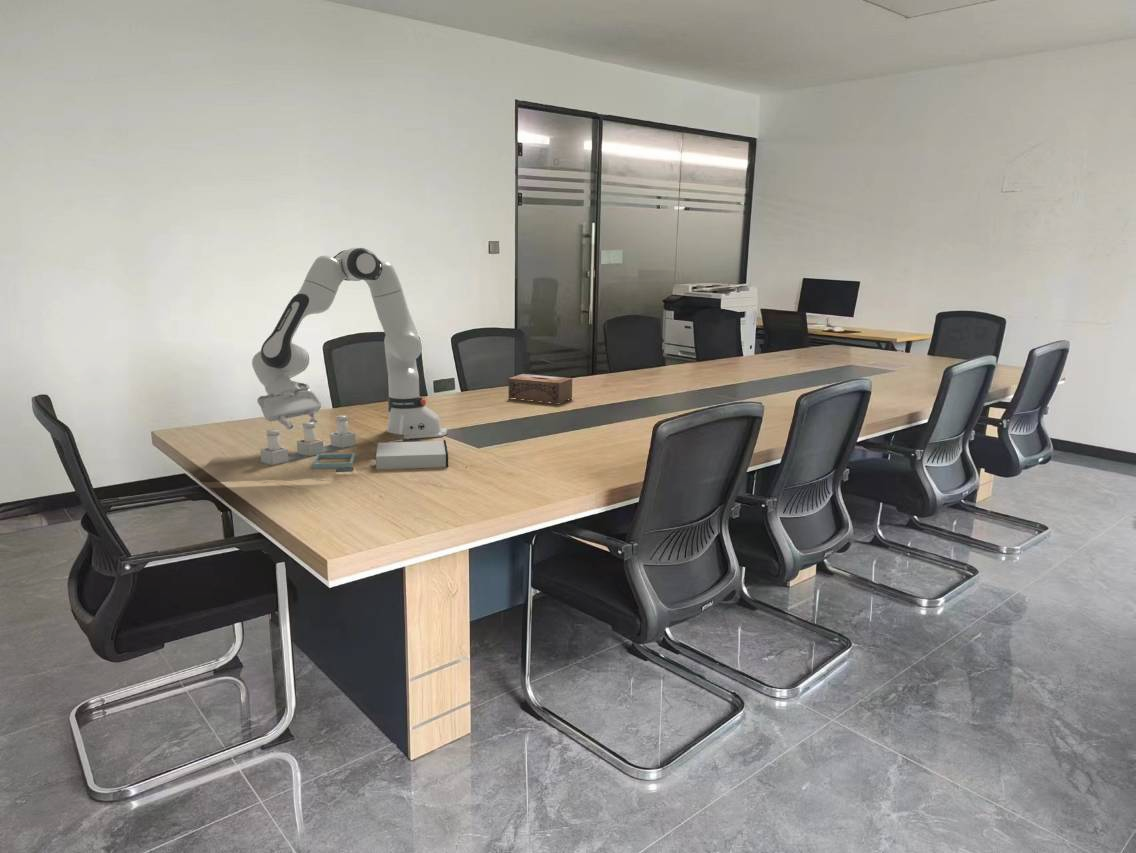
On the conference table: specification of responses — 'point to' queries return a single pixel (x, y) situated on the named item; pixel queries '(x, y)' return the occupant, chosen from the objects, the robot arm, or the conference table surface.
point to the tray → (335, 465)
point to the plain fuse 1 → (273, 440)
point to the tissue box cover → (540, 388)
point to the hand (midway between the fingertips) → (302, 425)
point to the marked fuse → (309, 432)
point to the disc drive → (412, 455)
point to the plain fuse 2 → (342, 425)
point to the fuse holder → (307, 449)
